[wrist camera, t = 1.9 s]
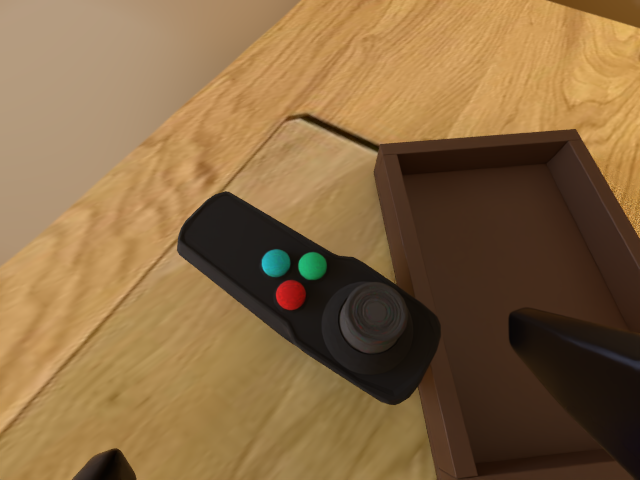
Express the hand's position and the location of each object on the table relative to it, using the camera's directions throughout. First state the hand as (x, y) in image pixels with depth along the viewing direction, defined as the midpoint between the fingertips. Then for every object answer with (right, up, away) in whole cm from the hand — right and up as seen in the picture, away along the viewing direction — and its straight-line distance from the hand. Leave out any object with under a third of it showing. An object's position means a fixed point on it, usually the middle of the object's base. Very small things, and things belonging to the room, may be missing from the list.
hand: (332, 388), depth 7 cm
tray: (+12, 0, +14) cm, 18 cm away
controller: (-1, -2, +13) cm, 13 cm away
